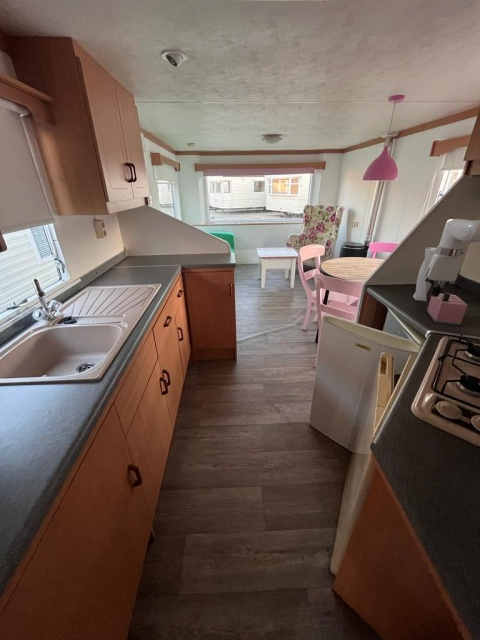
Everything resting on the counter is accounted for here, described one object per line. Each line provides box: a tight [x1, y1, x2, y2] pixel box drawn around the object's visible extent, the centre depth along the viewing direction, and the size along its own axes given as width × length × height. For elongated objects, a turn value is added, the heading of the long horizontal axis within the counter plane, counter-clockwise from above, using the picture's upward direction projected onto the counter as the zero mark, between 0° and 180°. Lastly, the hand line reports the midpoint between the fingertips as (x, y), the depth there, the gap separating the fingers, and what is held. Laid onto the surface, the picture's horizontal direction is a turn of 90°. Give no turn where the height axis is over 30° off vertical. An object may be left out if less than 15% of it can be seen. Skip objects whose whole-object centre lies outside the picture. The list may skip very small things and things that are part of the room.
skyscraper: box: [412, 245, 439, 302], centre depth 134 cm, size 8×7×28 cm
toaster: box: [426, 293, 468, 326], centre depth 117 cm, size 9×13×9 cm
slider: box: [442, 292, 451, 301], centre depth 112 cm, size 2×2×3 cm
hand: (434, 295), depth 113 cm, fingers closed
